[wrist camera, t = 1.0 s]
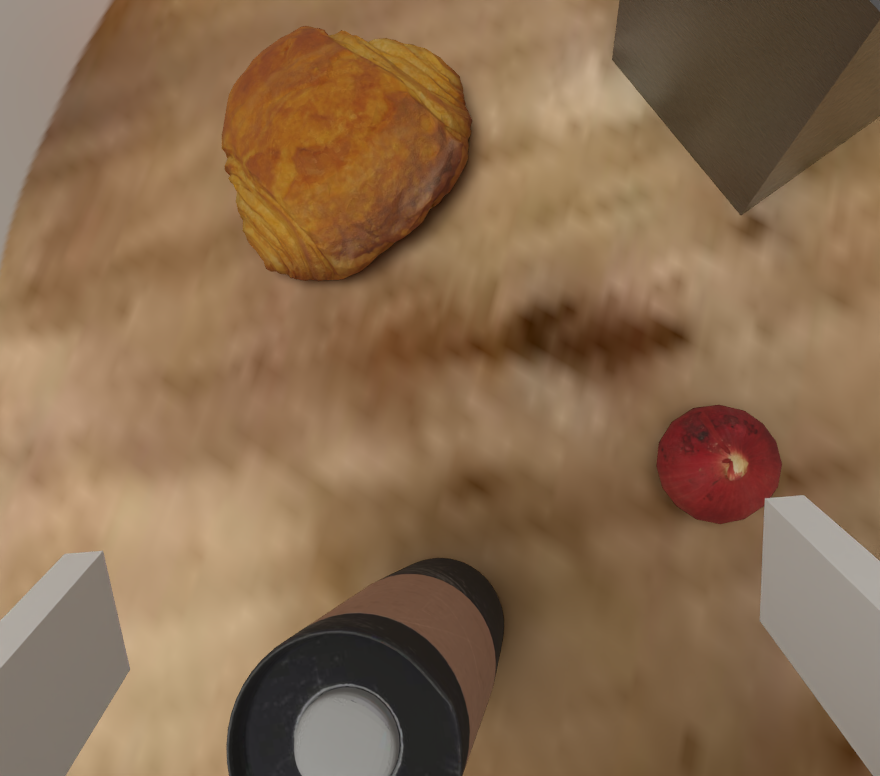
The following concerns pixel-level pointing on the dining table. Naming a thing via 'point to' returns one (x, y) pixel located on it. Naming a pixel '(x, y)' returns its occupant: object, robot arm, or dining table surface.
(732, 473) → the onion
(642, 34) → the grey peg holder block
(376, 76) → the croissant
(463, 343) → the dining table surface
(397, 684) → the travel mug
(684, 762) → the dining table surface
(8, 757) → the robot arm
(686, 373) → the dining table surface
